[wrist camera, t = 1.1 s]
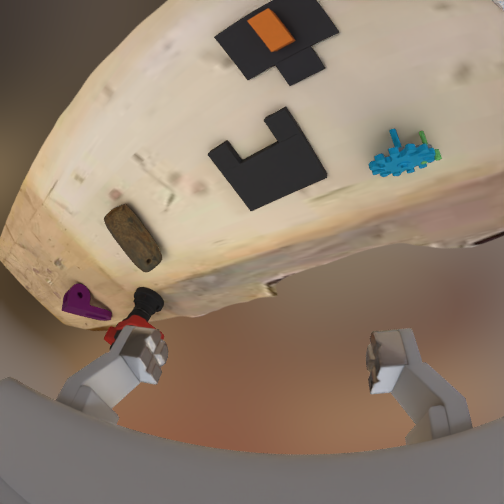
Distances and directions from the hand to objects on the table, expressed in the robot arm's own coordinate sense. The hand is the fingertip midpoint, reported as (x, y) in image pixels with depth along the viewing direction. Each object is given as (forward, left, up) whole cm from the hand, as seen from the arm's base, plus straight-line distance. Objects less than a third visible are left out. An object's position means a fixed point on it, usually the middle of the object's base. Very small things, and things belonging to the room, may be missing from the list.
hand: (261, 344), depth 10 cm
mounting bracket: (+88, +14, -35) cm, 96 cm away
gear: (-10, +11, -35) cm, 38 cm away
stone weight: (+41, +3, -35) cm, 54 cm away
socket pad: (+9, +4, -35) cm, 36 cm away
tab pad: (-3, -10, -35) cm, 36 cm away
